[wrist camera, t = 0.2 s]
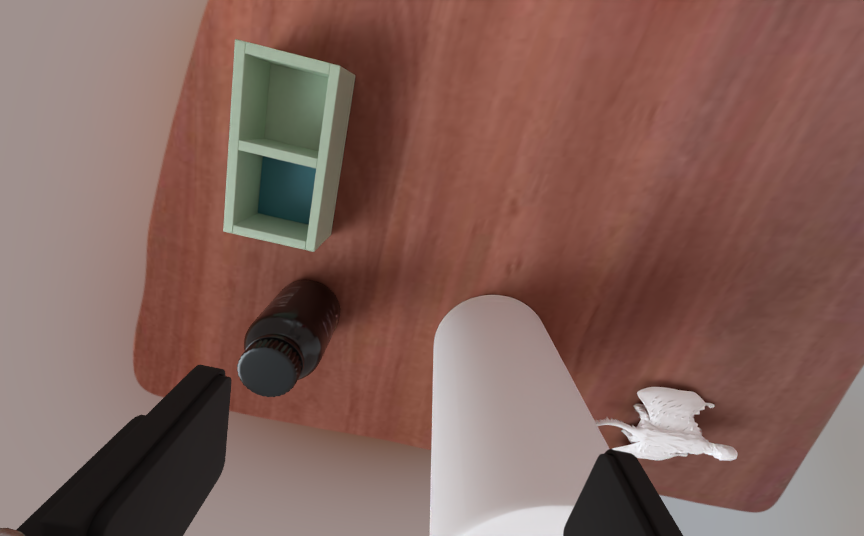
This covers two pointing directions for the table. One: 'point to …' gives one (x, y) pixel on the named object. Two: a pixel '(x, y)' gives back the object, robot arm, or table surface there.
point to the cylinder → (505, 425)
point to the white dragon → (668, 427)
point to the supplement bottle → (288, 338)
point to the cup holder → (285, 145)
